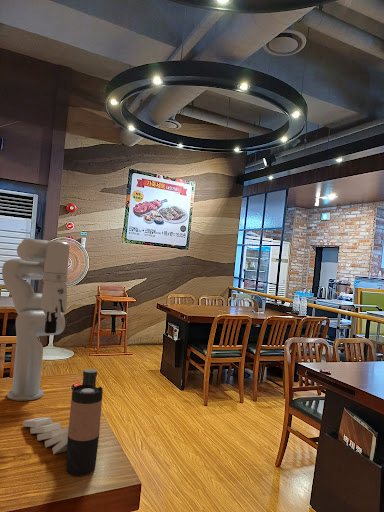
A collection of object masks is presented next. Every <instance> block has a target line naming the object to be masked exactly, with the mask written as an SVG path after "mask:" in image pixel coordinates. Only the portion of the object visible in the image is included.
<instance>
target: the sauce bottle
mask: <svg viewBox="0 0 384 512" xmlns="http://www.w3.org/2000/svg"><path fill="white" fill-rule="evenodd" d="M82 376H83V377H82V383H81V385H84V384H91V385H93V386H94V387H96V388H97V386H96V385H97V384H96V382H97V381H96V380H97V376H98V370H96V369H94V368H93V369H92V368H86V369H84V370H82Z"/></svg>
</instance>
